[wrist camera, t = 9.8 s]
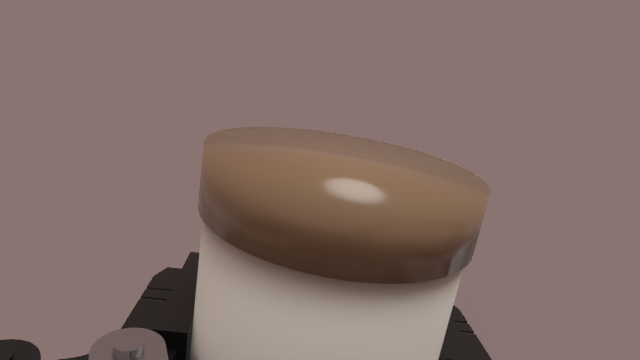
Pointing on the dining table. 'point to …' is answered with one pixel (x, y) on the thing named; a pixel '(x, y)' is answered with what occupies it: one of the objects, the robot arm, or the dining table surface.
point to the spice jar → (328, 247)
